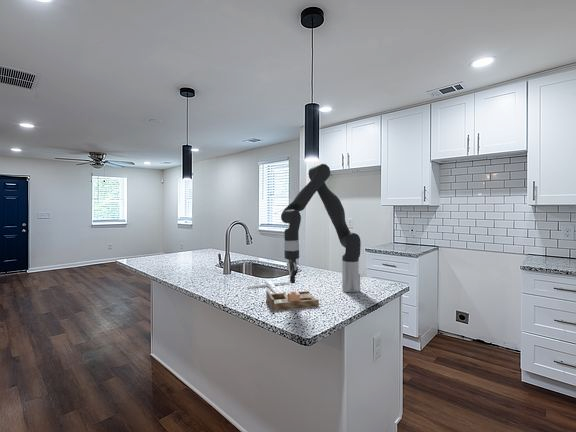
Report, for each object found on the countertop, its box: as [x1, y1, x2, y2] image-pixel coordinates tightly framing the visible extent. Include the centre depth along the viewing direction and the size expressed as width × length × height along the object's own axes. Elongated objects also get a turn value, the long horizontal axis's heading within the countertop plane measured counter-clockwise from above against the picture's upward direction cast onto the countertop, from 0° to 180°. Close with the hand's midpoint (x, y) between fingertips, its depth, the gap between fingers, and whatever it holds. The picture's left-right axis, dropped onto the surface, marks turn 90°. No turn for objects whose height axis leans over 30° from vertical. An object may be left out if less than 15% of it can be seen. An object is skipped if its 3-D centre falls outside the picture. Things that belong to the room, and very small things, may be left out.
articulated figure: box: [247, 279, 291, 295], centre depth 177 cm, size 27×4×30 cm
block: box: [287, 291, 300, 302], centre depth 148 cm, size 5×5×4 cm
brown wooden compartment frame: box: [265, 290, 320, 311], centre depth 153 cm, size 23×16×5 cm
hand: (292, 283), depth 154 cm, fingers closed
